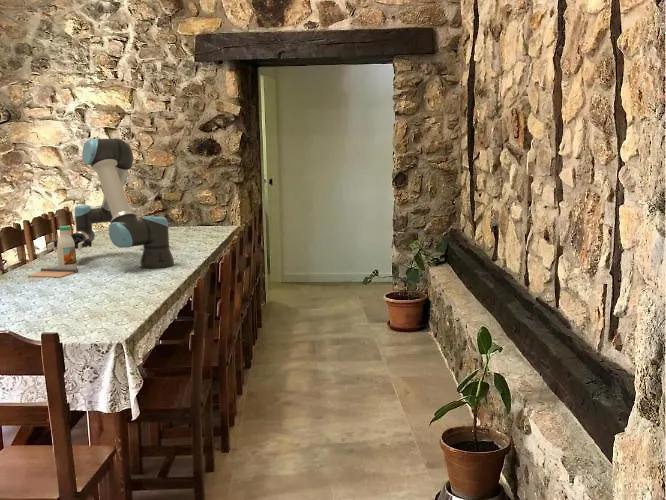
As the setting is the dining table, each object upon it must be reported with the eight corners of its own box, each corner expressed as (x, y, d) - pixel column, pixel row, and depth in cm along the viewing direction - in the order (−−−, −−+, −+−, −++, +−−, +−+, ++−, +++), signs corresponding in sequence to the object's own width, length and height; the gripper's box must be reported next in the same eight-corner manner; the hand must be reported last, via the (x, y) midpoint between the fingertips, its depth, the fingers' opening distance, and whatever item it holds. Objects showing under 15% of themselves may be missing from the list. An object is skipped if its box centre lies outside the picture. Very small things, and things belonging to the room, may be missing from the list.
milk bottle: (57, 271, 308) (54, 227, 305) (59, 268, 316) (56, 225, 312) (76, 270, 310) (72, 226, 307) (77, 267, 318) (74, 224, 314)
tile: (73, 273, 303) (73, 272, 303) (60, 277, 294) (60, 276, 294) (41, 272, 307) (41, 271, 307) (27, 276, 297) (27, 275, 297)
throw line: (78, 272, 305) (78, 269, 305) (76, 273, 304) (76, 269, 304) (42, 271, 309) (42, 268, 309) (40, 272, 308) (40, 268, 308)
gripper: (105, 247, 330) (92, 254, 309) (52, 248, 329) (36, 255, 308) (104, 231, 329) (91, 238, 308) (51, 232, 328) (34, 239, 307)
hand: (63, 247), depth 308 cm, fingers open, 13 cm apart
